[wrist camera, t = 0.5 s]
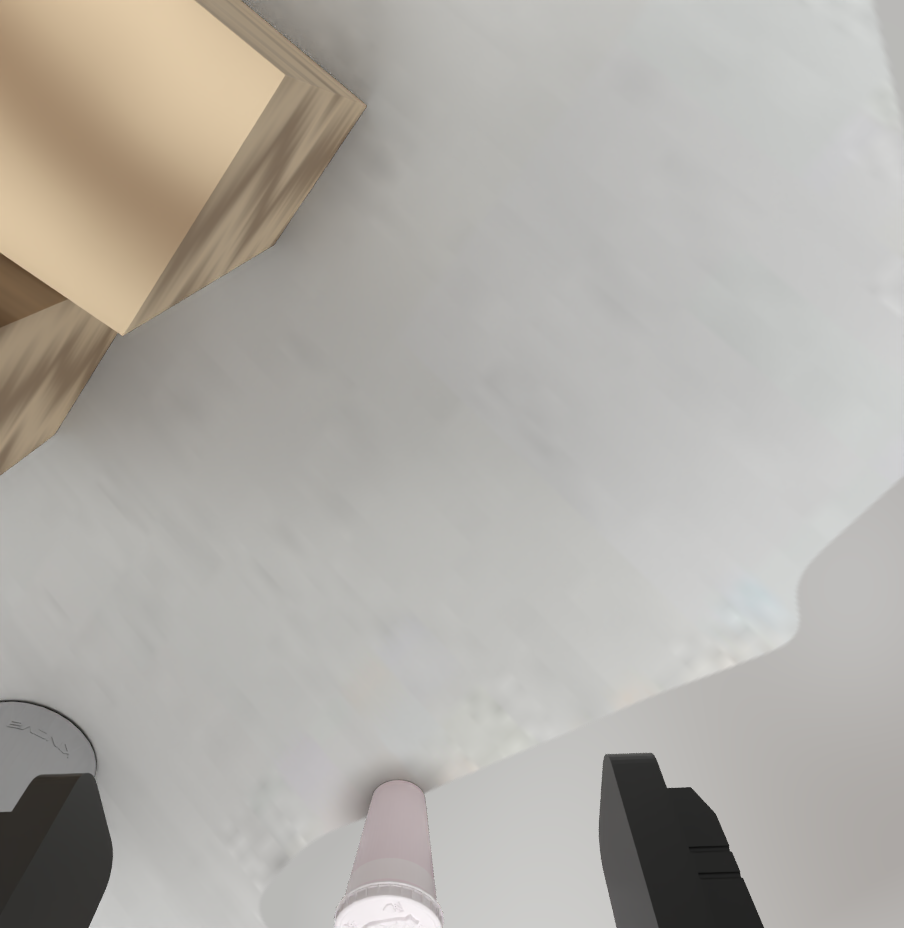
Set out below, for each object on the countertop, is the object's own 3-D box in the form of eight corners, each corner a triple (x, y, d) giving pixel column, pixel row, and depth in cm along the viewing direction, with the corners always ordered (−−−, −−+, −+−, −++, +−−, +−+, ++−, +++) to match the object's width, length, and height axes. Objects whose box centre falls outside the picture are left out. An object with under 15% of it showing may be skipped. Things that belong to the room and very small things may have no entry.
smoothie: (333, 796, 53) (294, 1010, 40) (401, 749, 51) (384, 956, 38) (395, 847, 54) (378, 1066, 42) (464, 803, 53) (468, 1018, 40)
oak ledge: (273, 245, 38) (122, 336, 21) (13, 48, 35) (-431, -41, 17) (367, 105, 36) (285, 75, 18) (97, -121, 32) (-323, -425, 15)
